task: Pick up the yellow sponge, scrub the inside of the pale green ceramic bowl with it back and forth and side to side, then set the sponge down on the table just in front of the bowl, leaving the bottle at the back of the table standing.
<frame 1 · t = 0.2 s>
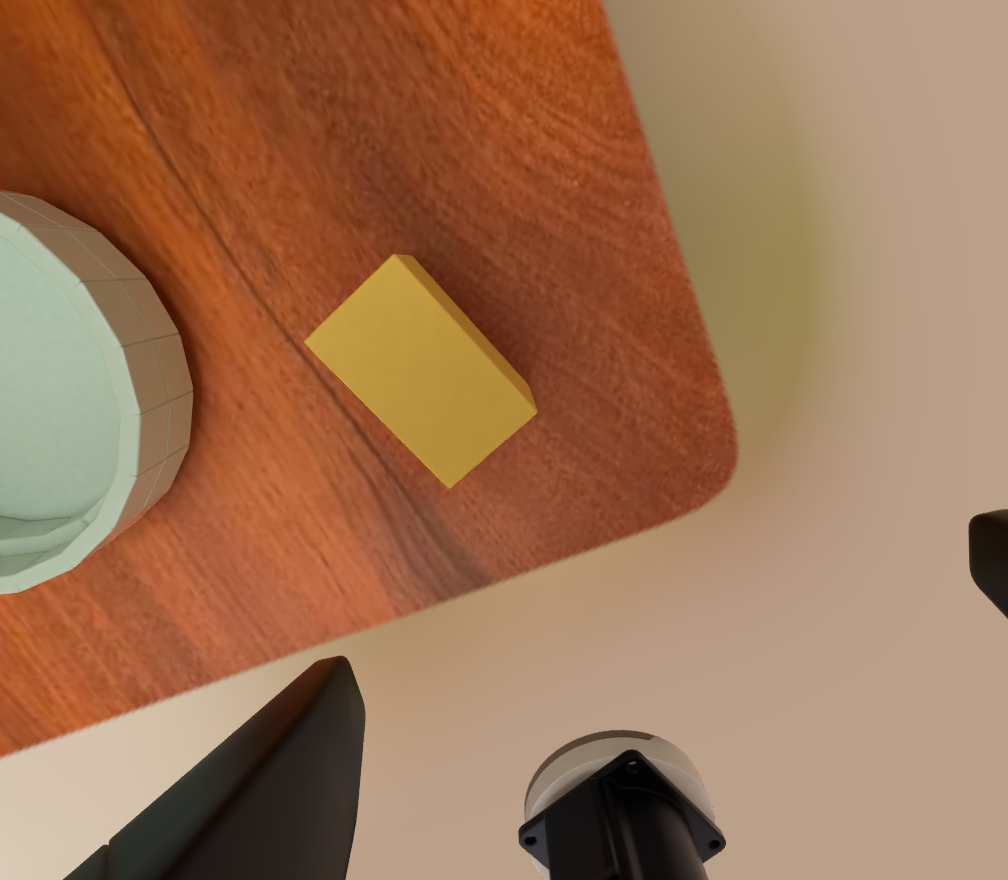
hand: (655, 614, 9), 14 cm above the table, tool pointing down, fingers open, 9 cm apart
bowl: (23, 377, 21), on the table
sponge: (434, 357, 22), on the table
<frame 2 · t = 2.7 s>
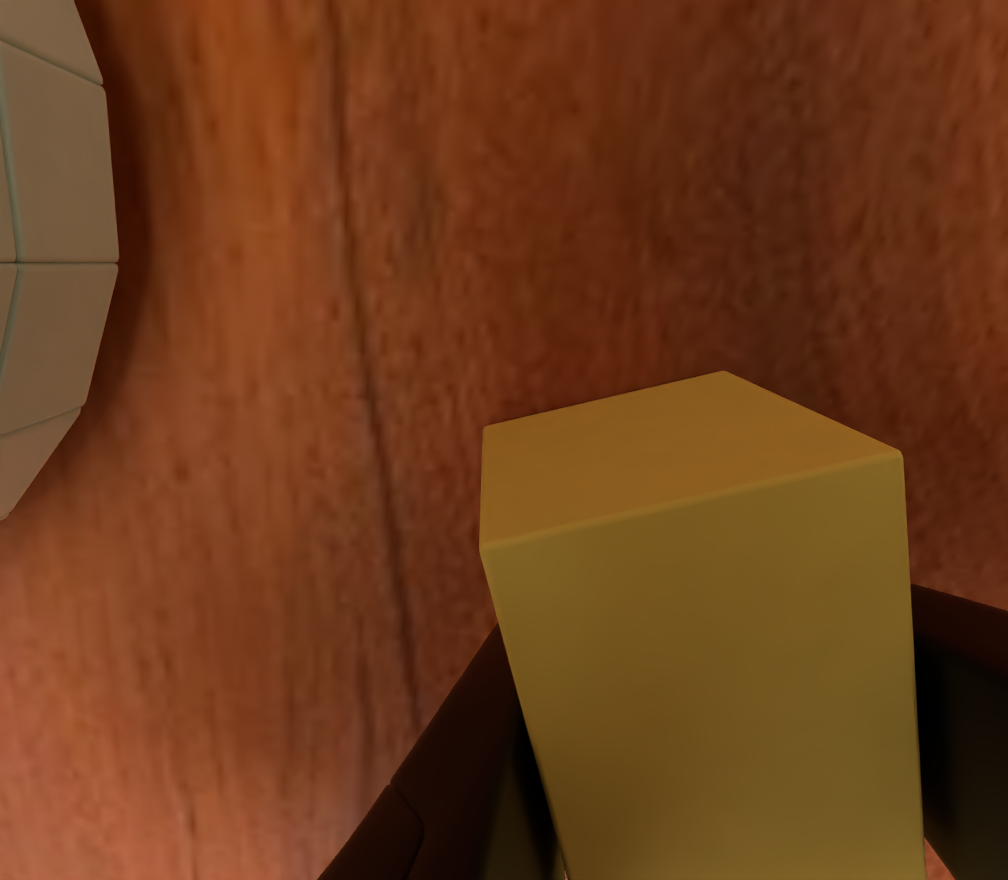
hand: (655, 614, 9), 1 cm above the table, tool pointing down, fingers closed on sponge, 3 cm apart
sponge: (637, 578, 10), on the table, touching gripper
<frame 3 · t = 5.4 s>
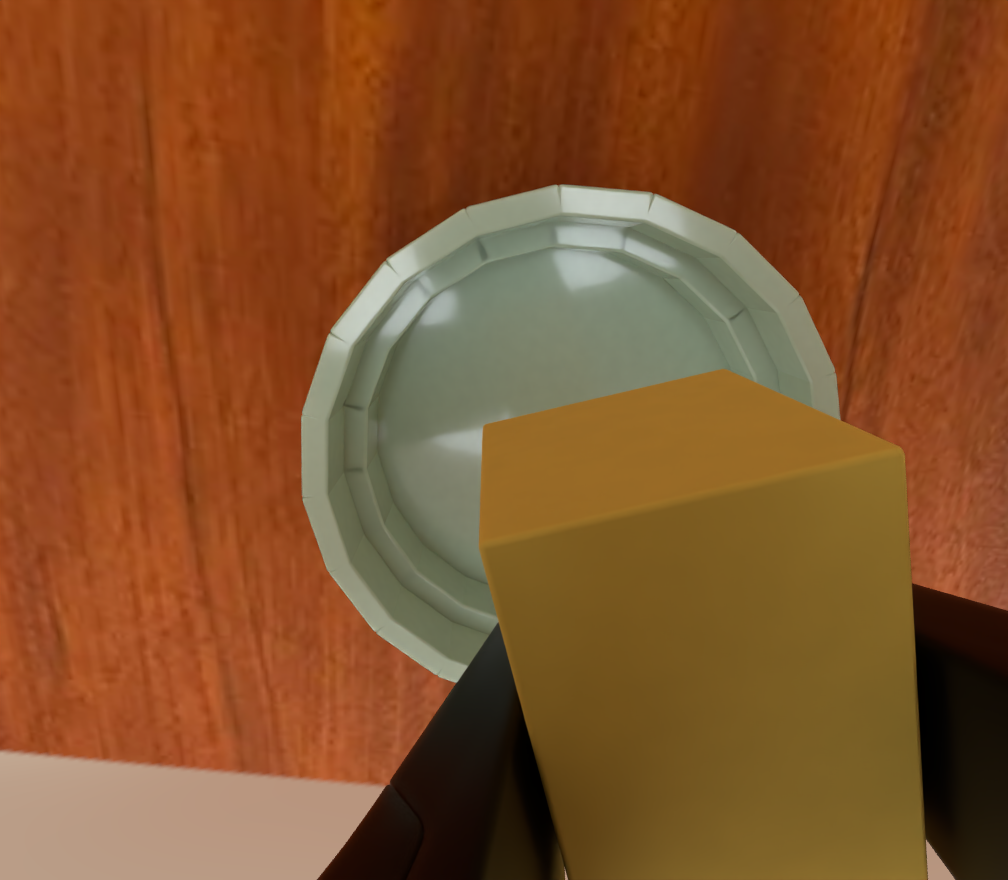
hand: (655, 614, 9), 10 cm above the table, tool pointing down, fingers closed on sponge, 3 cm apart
bowl: (554, 428, 18), on the table
sponge: (637, 577, 10), point 9 cm above the table, touching gripper
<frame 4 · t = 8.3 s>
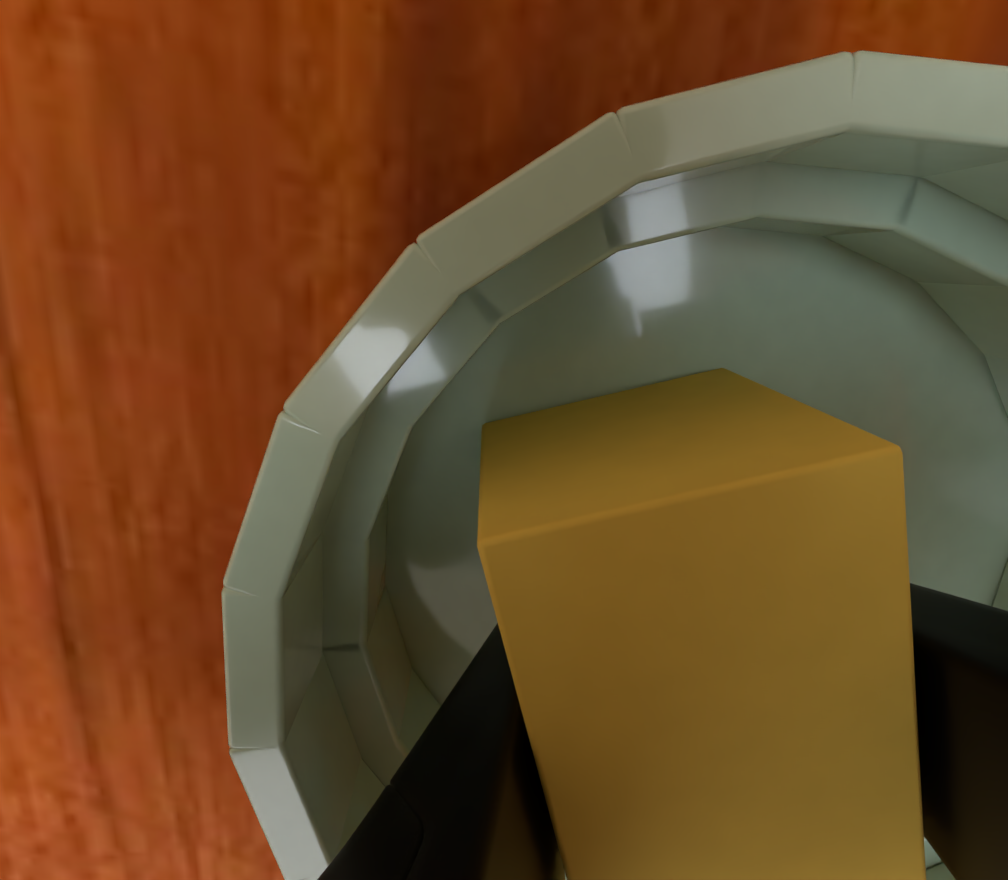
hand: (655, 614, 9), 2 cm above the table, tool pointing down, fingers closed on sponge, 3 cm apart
bowl: (685, 536, 11), on the table
sponge: (636, 576, 10), point 1 cm above the table, touching gripper
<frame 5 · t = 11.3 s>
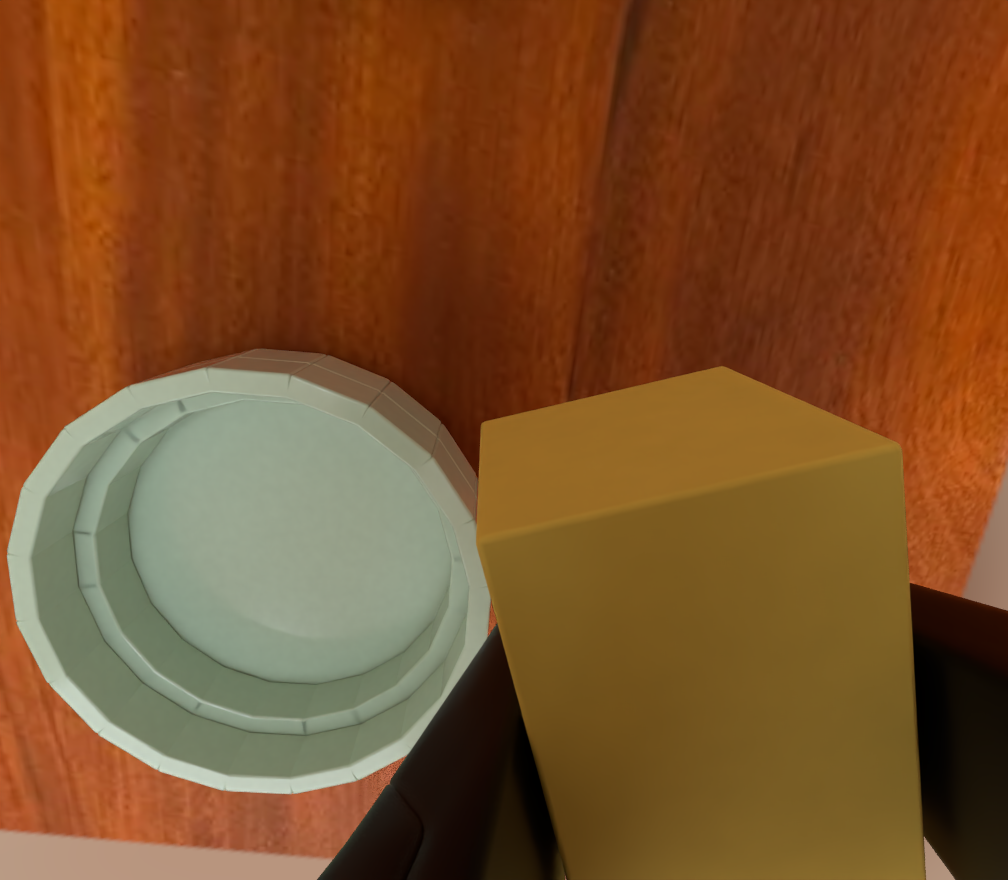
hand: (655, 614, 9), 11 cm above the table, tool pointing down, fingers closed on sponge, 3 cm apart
bowl: (301, 535, 20), on the table
sponge: (636, 575, 10), point 10 cm above the table, touching gripper
when the fingers open (1 cm above the table, at t = 14.1 s): sponge stays where it is, on the table.
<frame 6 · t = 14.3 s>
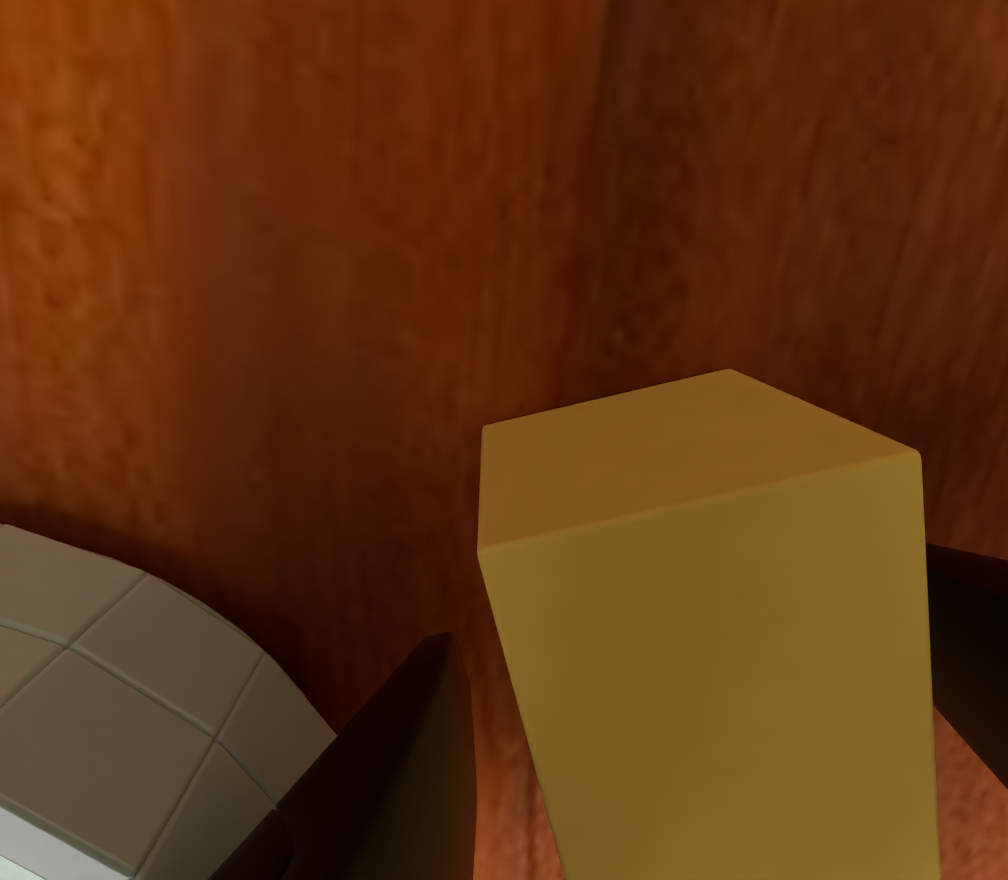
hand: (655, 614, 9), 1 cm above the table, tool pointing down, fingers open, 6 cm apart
bowl: (30, 827, 11), on the table
sponge: (640, 581, 10), on the table
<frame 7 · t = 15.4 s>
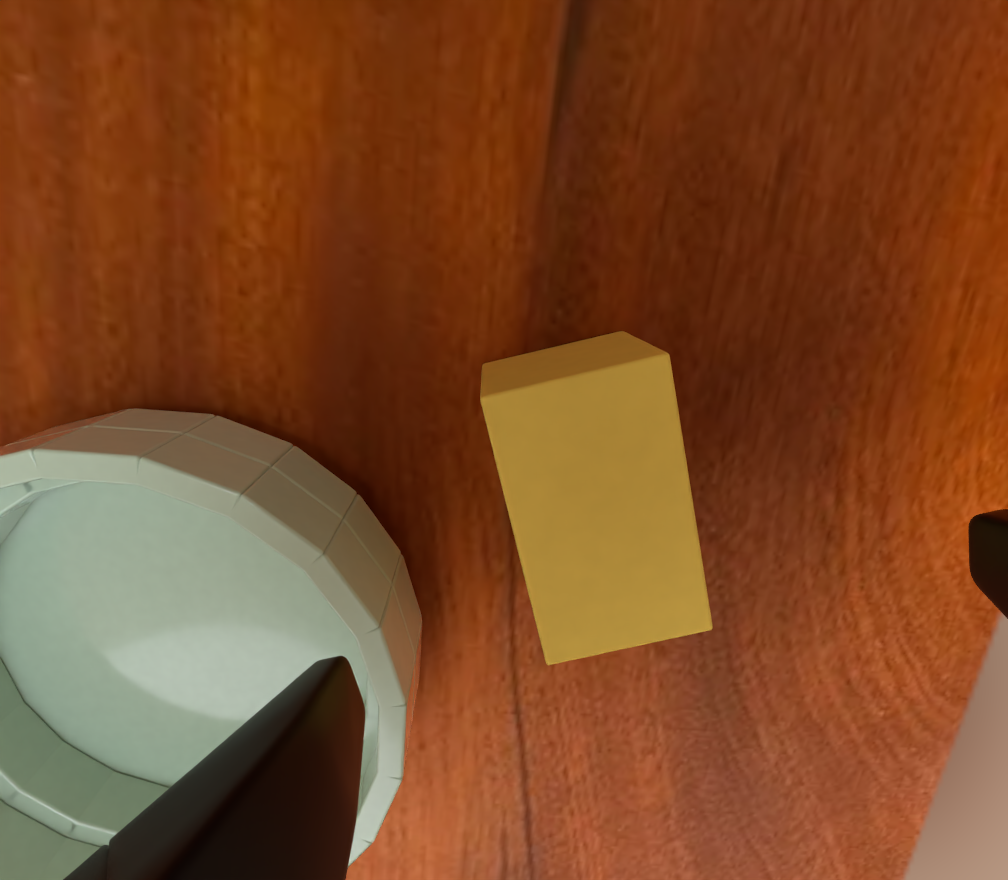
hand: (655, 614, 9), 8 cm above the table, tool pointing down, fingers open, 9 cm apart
bowl: (202, 618, 17), on the table
sponge: (576, 459, 16), on the table
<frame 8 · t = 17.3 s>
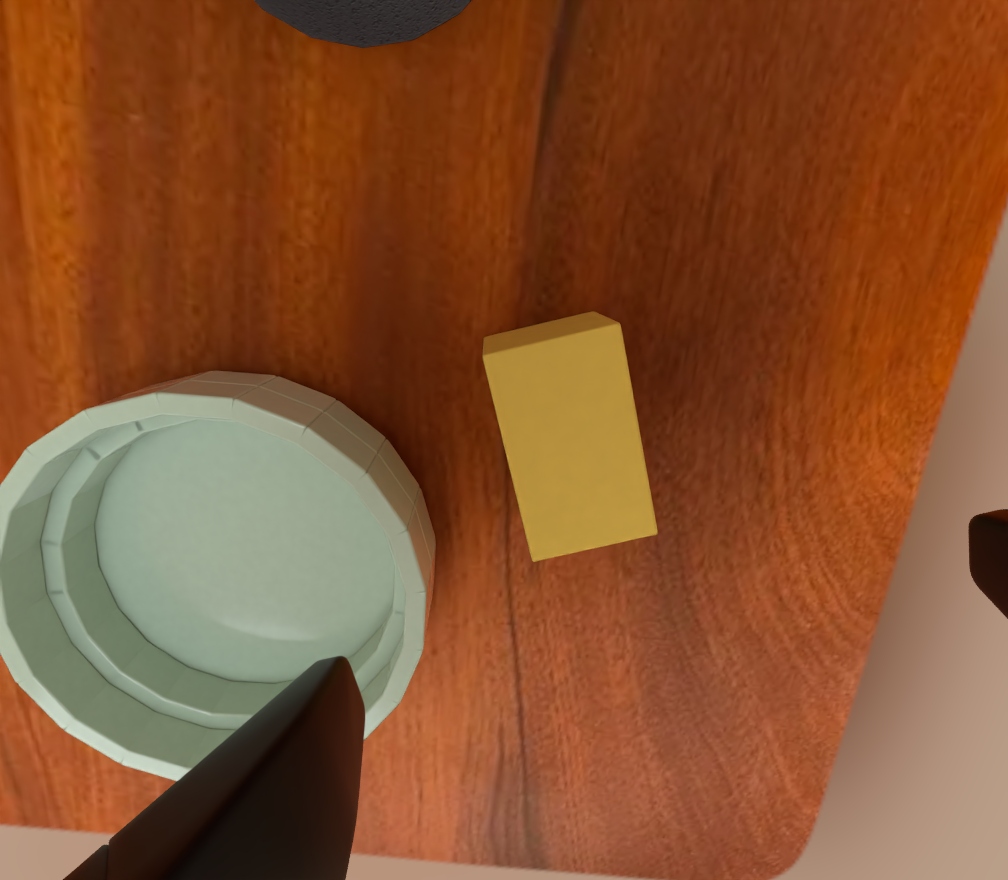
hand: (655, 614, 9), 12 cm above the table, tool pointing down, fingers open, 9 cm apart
bowl: (259, 543, 21), on the table
sponge: (557, 413, 20), on the table
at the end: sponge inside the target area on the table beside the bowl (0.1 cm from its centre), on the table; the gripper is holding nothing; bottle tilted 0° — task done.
